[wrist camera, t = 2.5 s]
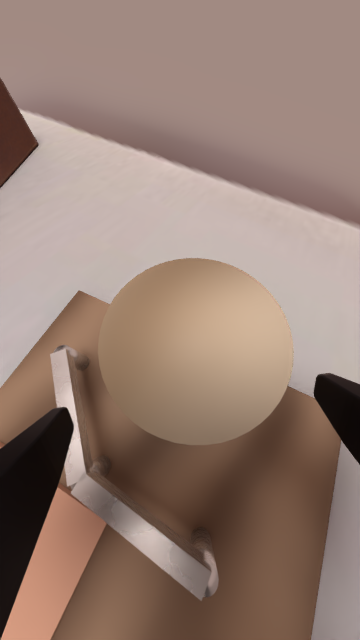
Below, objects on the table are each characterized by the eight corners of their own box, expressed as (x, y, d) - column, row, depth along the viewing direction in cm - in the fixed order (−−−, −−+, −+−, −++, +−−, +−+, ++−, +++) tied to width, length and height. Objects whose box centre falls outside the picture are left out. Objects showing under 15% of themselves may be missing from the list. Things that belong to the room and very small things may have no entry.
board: (335, 412, 16) (345, 412, 15) (230, 1035, 7) (237, 1123, 7) (83, 295, 20) (78, 290, 19) (-155, 599, 12) (-182, 615, 11)
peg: (240, 368, 16) (360, 279, 5) (209, 454, 14) (305, 615, 3) (169, 335, 17) (144, 206, 6) (129, 409, 15) (-14, 402, 4)
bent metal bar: (214, 542, 12) (226, 589, 9) (166, 601, 11) (159, 678, 8) (84, 352, 17) (61, 338, 14) (43, 383, 16) (8, 376, 13)
